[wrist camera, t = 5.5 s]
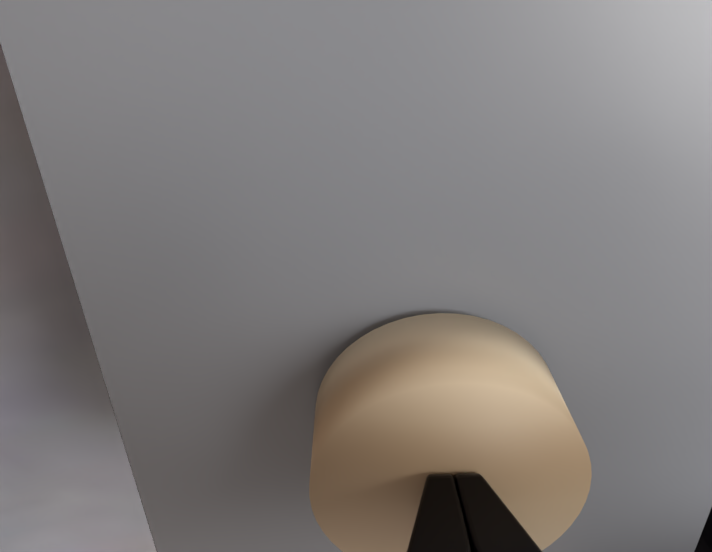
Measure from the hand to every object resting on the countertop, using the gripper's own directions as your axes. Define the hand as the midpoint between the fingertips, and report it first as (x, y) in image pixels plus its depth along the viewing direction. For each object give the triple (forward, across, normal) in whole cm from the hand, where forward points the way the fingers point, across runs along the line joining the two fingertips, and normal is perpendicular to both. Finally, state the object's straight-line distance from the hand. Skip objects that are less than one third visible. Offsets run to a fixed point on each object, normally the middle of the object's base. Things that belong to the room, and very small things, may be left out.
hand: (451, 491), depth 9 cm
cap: (+7, 0, 0) cm, 7 cm away
